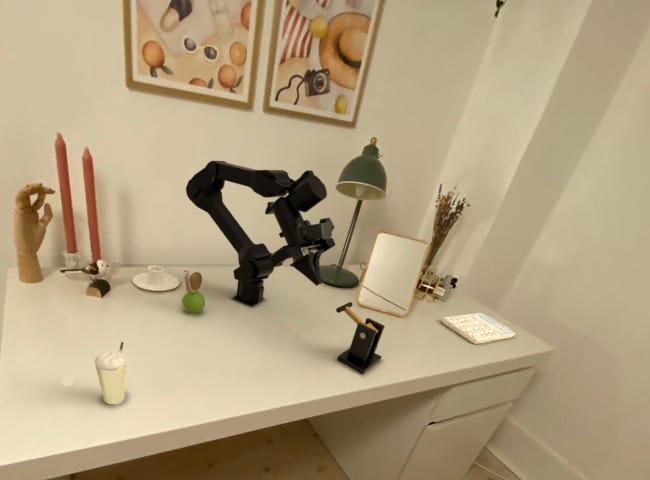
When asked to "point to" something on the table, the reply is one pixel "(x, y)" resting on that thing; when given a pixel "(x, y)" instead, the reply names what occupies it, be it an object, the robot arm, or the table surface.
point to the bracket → (363, 347)
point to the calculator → (478, 328)
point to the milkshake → (112, 375)
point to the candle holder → (156, 279)
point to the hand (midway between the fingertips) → (318, 284)
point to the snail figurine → (193, 293)
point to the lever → (353, 314)
